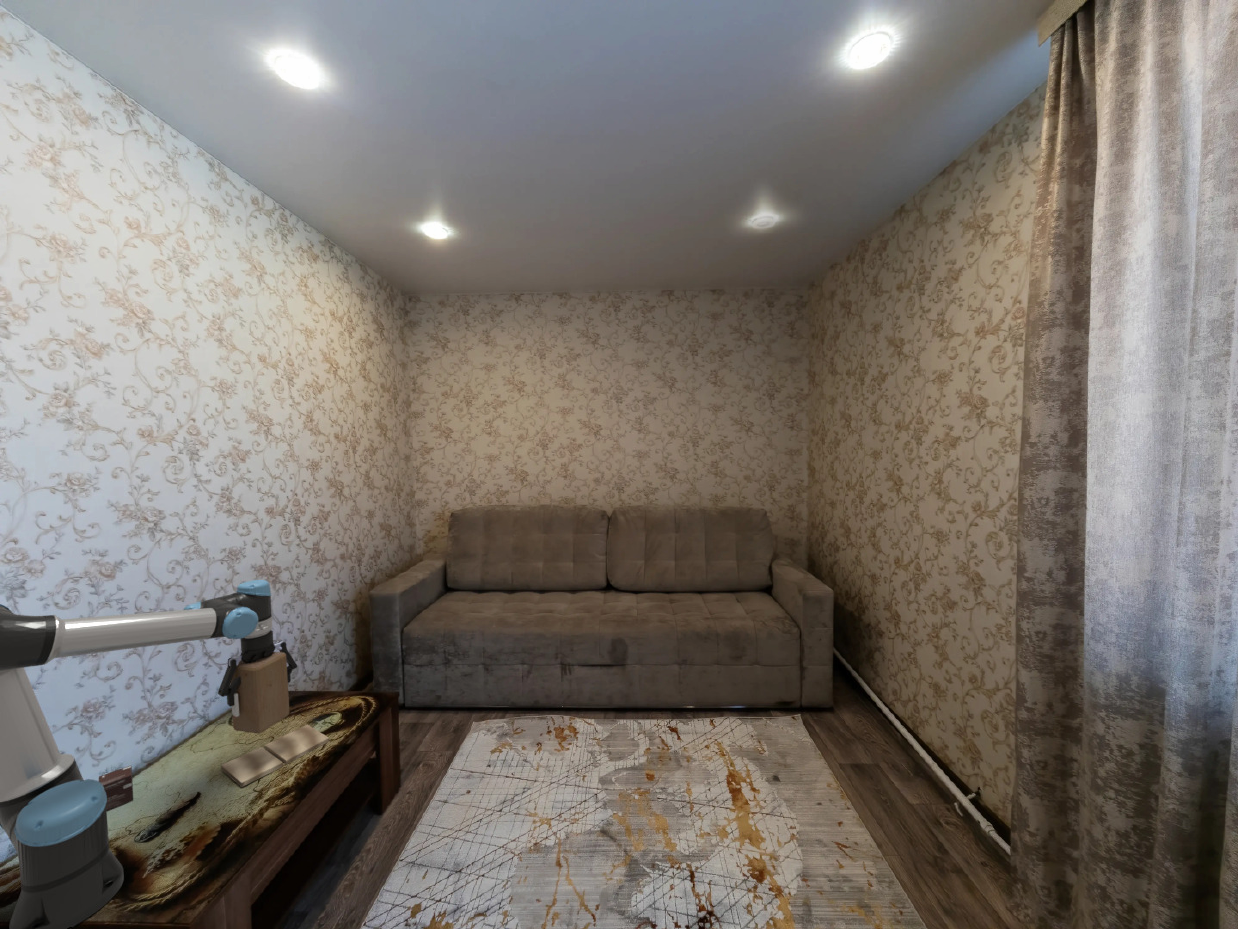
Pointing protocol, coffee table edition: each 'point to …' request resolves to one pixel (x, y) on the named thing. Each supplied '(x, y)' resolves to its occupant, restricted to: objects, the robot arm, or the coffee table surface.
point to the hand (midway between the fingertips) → (261, 704)
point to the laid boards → (296, 744)
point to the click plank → (251, 766)
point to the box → (118, 787)
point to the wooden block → (262, 693)
